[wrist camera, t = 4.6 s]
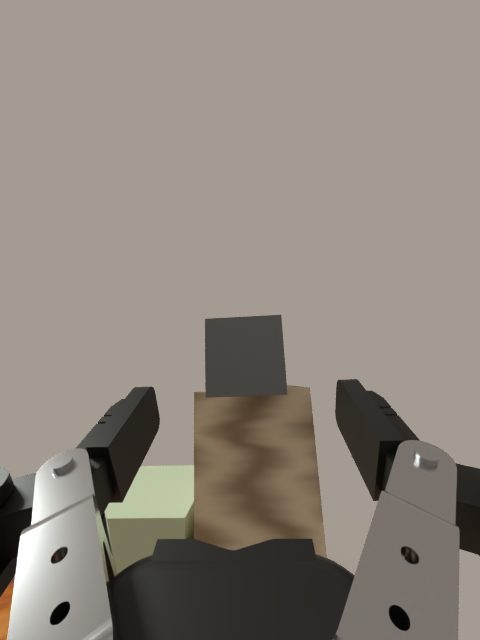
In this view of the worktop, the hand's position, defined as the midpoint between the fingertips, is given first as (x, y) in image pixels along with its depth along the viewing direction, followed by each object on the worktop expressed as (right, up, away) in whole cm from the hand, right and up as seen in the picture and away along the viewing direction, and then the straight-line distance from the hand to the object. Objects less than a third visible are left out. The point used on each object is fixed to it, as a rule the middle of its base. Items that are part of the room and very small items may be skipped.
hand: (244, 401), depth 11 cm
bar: (+1, -3, +14) cm, 14 cm away
